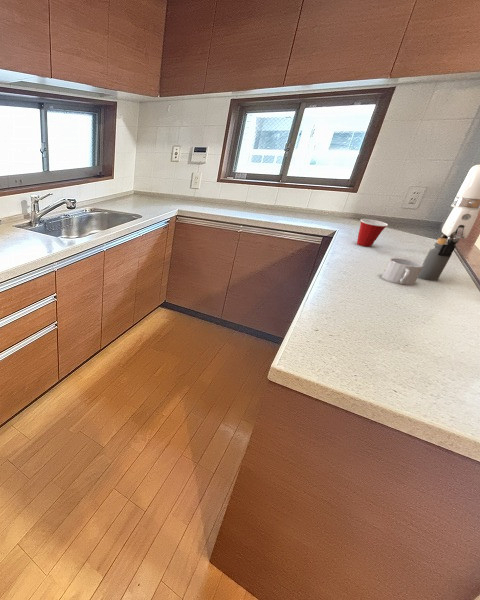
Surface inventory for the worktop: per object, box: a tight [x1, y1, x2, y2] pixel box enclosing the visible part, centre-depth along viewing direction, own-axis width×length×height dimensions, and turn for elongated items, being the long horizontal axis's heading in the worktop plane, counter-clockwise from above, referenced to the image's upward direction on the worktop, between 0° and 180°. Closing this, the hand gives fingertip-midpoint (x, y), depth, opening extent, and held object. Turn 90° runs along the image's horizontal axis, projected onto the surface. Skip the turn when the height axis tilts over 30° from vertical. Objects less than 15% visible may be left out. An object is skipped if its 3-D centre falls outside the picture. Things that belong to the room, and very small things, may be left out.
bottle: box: [417, 237, 453, 282], centre depth 120 cm, size 6×6×15 cm
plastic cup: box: [356, 218, 389, 248], centre depth 160 cm, size 11×11×12 cm
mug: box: [381, 257, 424, 286], centre depth 119 cm, size 13×9×7 cm
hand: (441, 253), depth 119 cm, fingers closed on bottle, 5 cm apart
